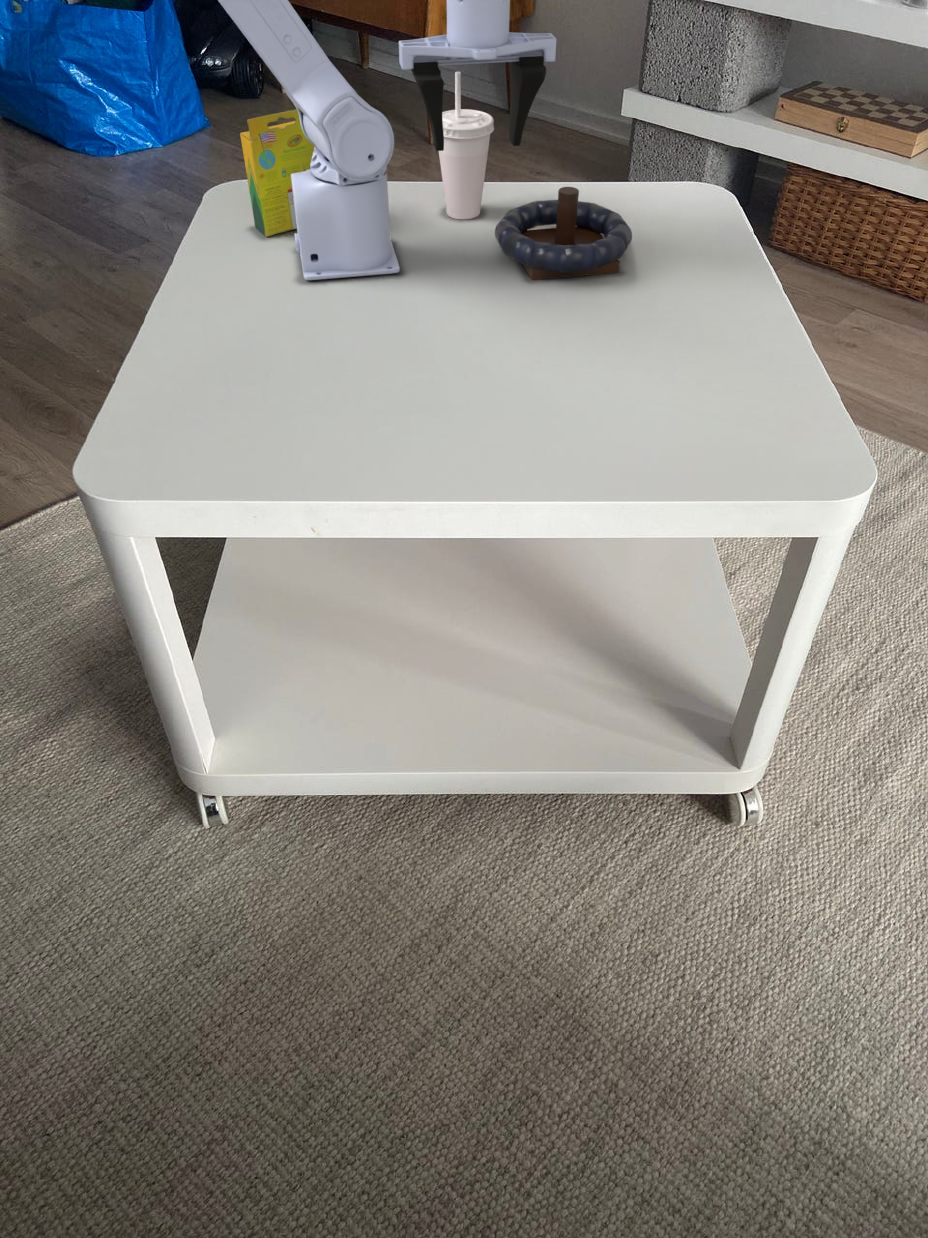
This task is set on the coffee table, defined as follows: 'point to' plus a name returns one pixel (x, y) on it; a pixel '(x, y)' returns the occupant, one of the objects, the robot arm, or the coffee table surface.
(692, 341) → the coffee table surface
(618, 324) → the coffee table surface
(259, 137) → the crayon box
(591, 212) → the dark blue ring
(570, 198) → the wooden ring toss peg
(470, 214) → the smoothie
